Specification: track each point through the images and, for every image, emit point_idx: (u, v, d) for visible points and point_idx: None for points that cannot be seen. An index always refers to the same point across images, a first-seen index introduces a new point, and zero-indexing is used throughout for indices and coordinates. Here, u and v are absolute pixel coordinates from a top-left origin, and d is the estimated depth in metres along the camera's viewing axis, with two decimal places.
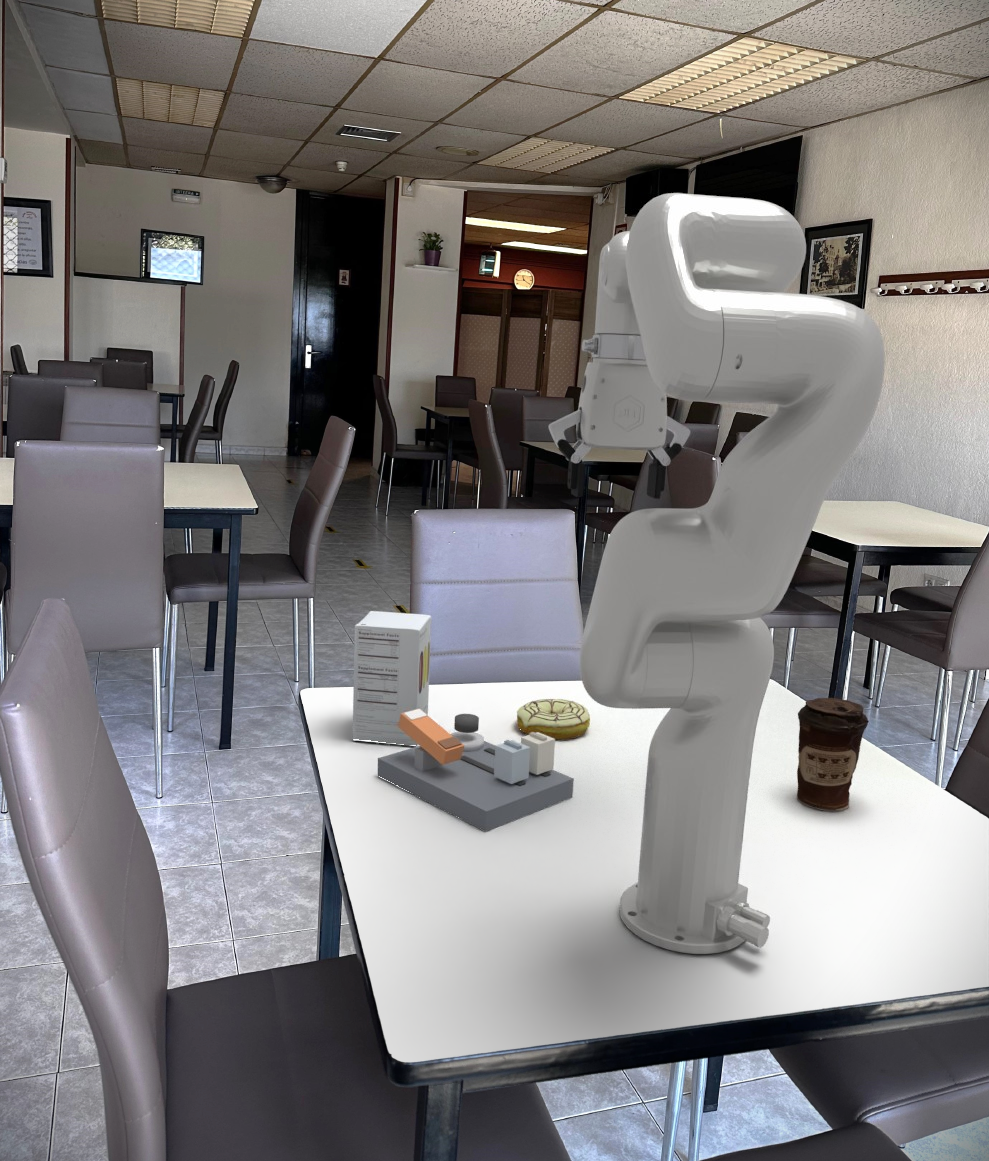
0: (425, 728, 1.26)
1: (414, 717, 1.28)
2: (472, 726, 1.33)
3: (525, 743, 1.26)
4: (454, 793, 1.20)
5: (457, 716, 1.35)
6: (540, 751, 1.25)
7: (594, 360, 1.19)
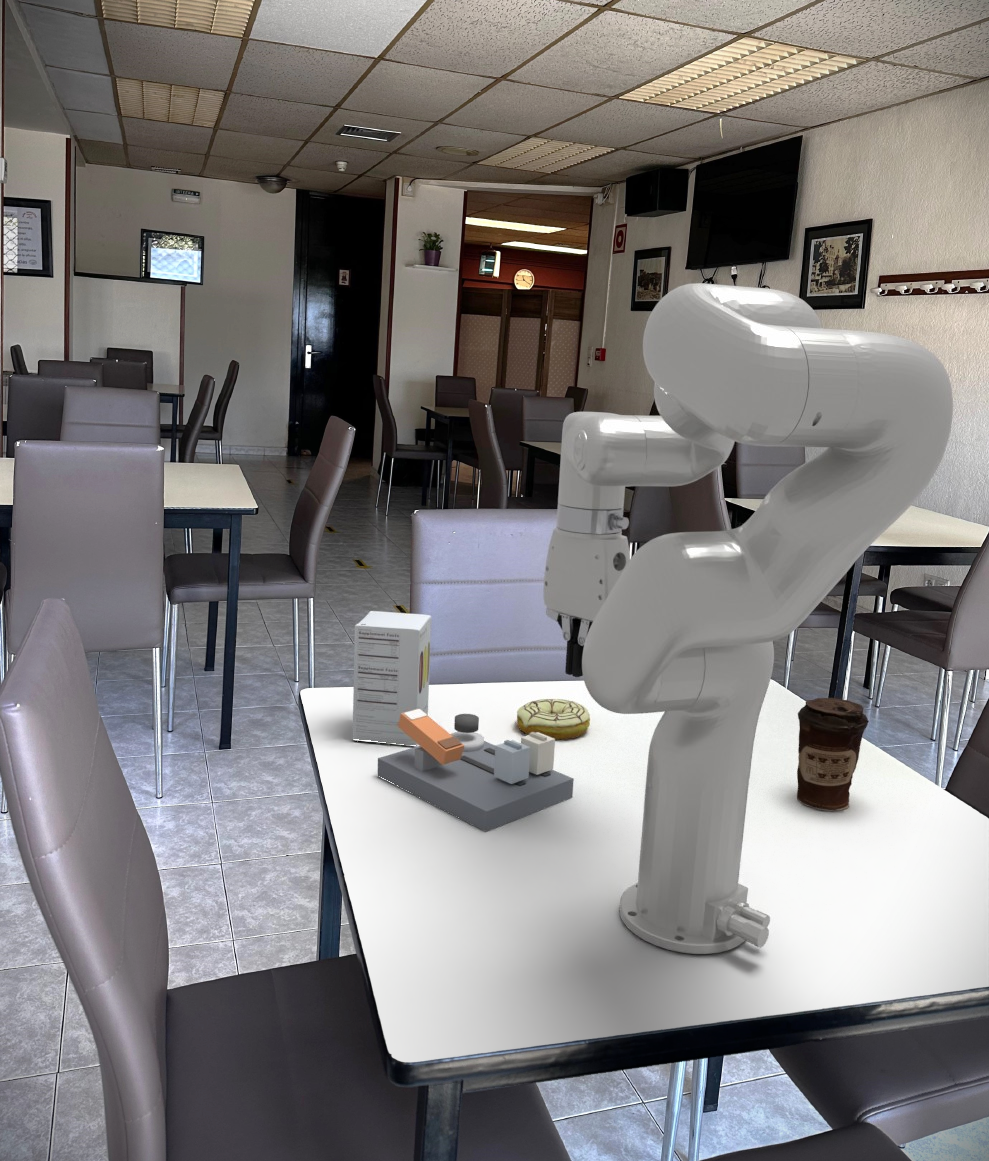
0: (425, 728, 1.26)
1: (414, 717, 1.28)
2: (472, 726, 1.33)
3: (525, 743, 1.26)
4: (454, 793, 1.20)
5: (457, 716, 1.35)
6: (540, 751, 1.25)
7: (614, 536, 1.14)
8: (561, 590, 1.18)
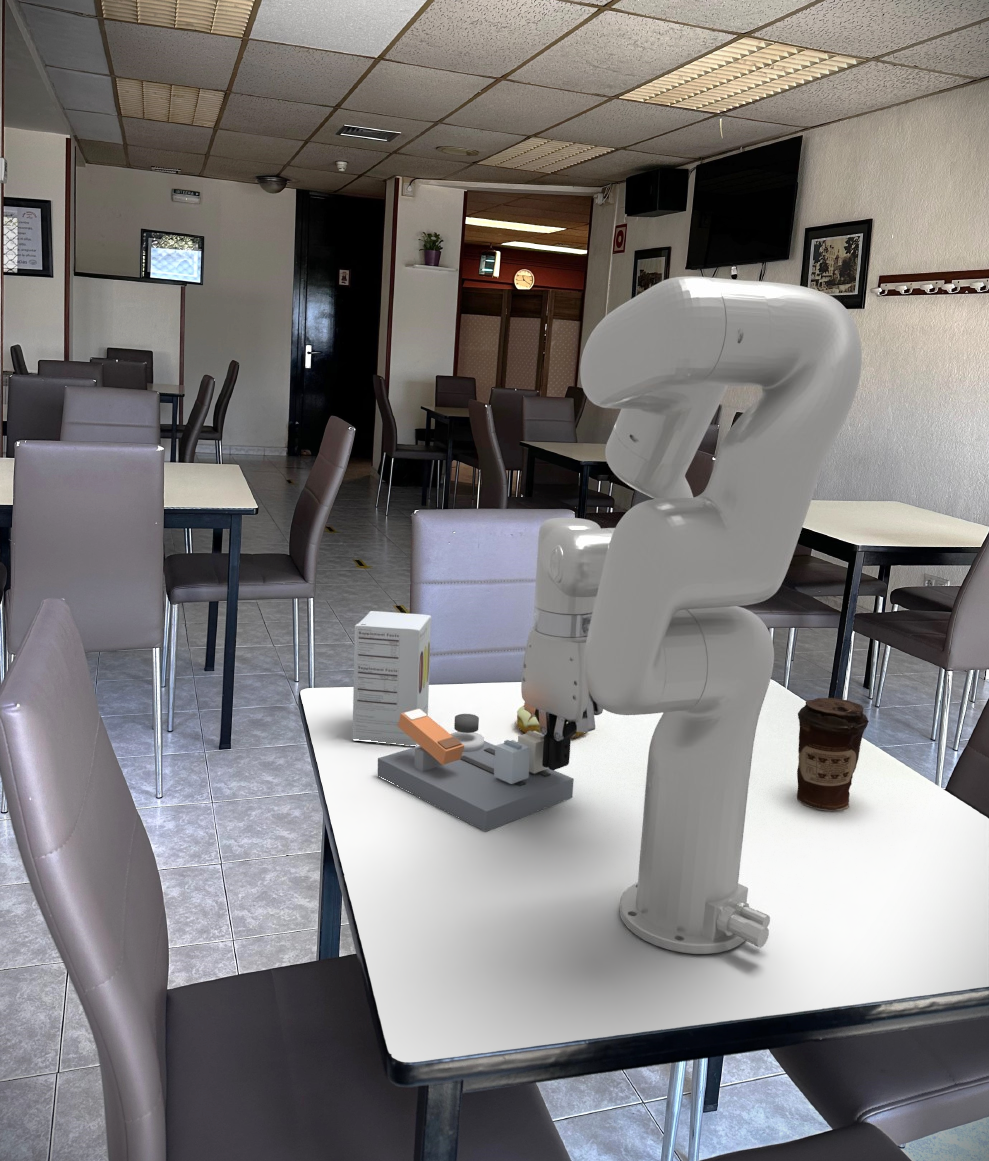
0: (425, 728, 1.26)
1: (414, 717, 1.28)
2: (472, 726, 1.33)
3: (522, 742, 1.27)
4: (454, 793, 1.20)
5: (457, 716, 1.35)
6: (537, 749, 1.25)
7: None
8: (538, 687, 1.22)
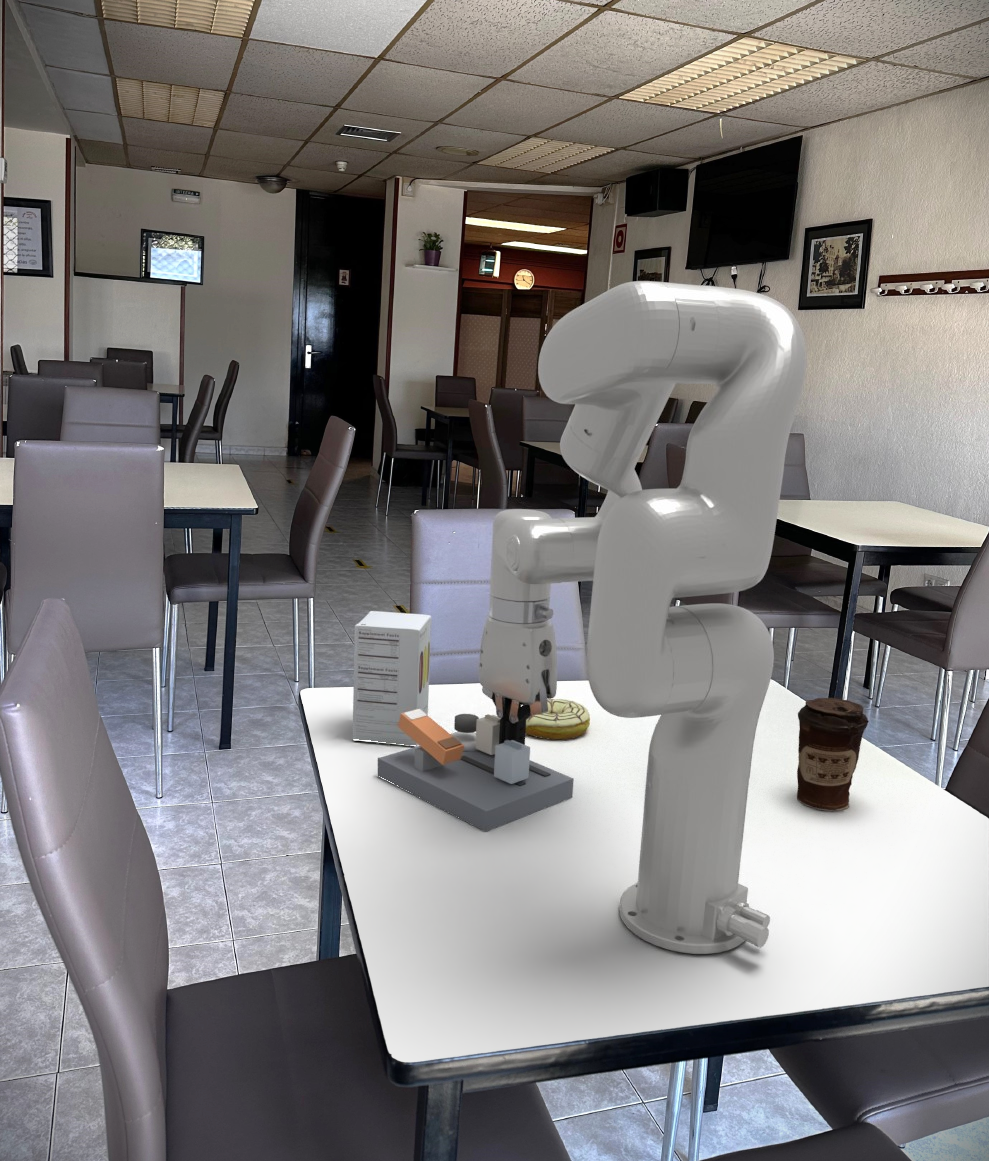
0: (425, 728, 1.26)
1: (414, 717, 1.28)
2: (472, 726, 1.33)
3: (480, 725, 1.32)
4: (454, 793, 1.20)
5: (457, 716, 1.35)
6: (494, 732, 1.31)
7: (540, 624, 1.24)
8: (494, 672, 1.28)
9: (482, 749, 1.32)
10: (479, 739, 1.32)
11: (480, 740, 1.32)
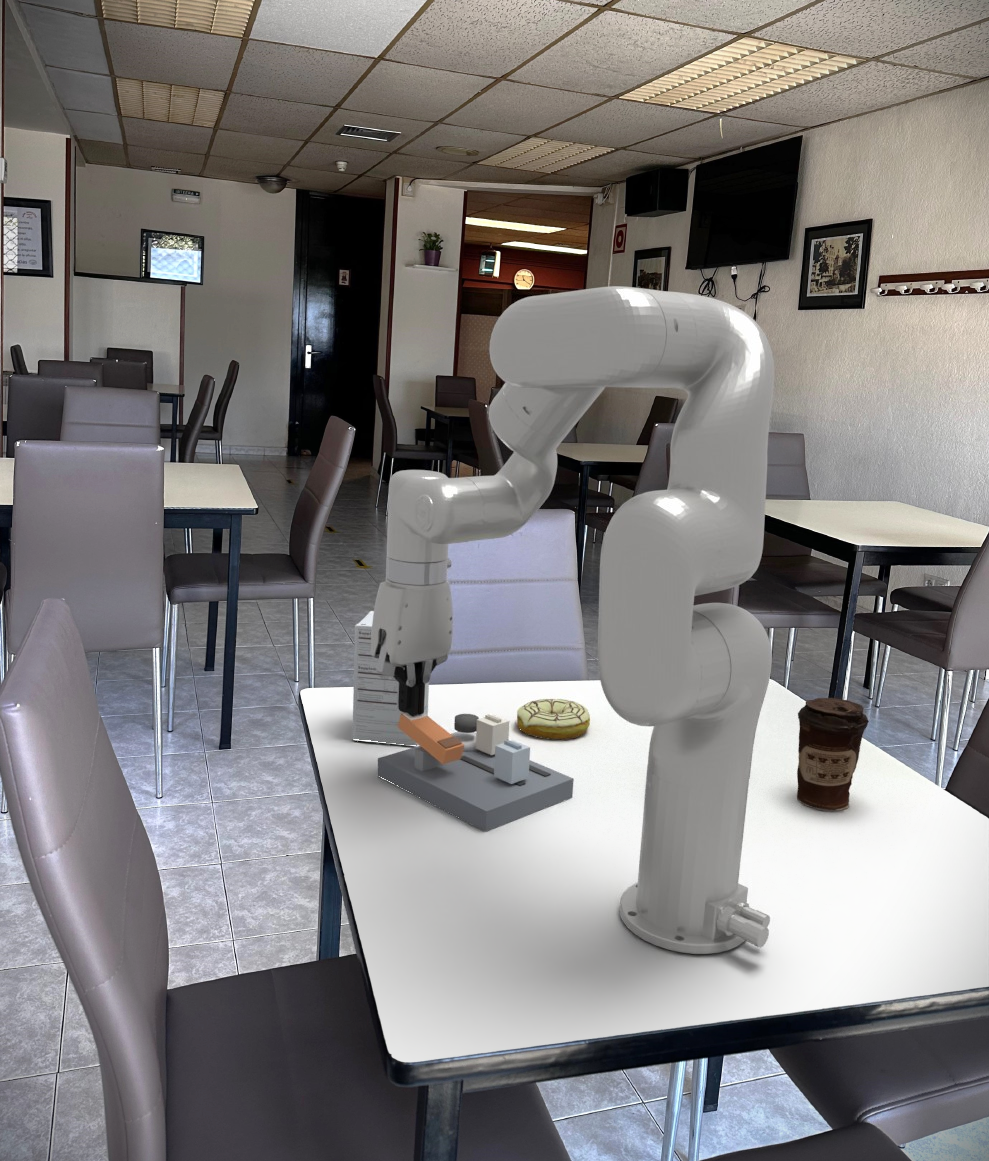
0: (425, 728, 1.26)
1: (414, 717, 1.28)
2: (472, 726, 1.33)
3: (480, 725, 1.32)
4: (454, 793, 1.20)
5: (457, 716, 1.35)
6: (494, 732, 1.31)
7: None
8: (416, 641, 1.24)
9: (482, 749, 1.32)
10: (479, 739, 1.32)
11: (480, 740, 1.32)
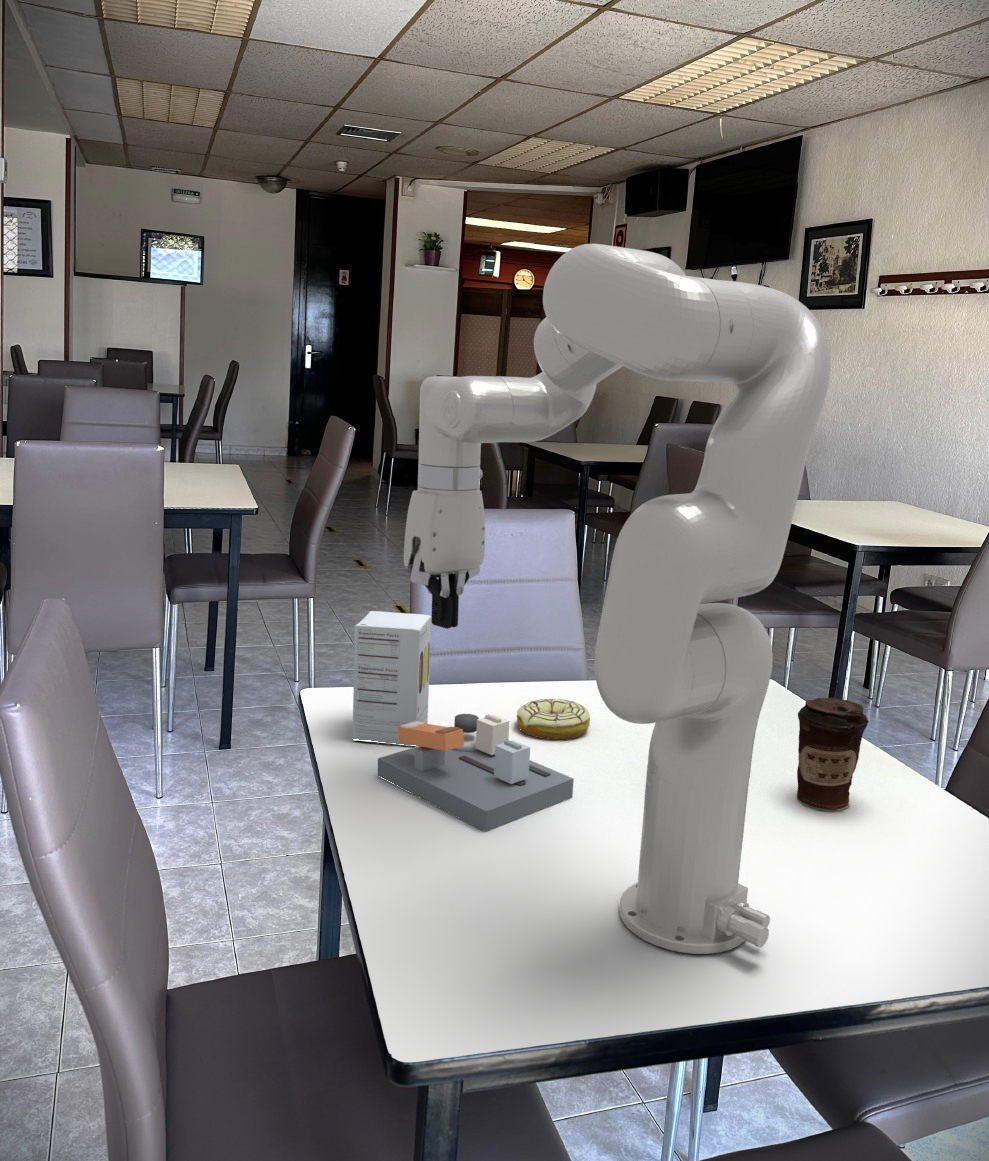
0: (423, 728, 1.27)
1: (411, 725, 1.28)
2: (472, 726, 1.33)
3: (480, 725, 1.32)
4: (454, 793, 1.20)
5: (457, 716, 1.35)
6: (494, 732, 1.31)
7: None
8: (450, 550, 1.23)
9: (482, 749, 1.32)
10: (479, 739, 1.32)
11: (480, 740, 1.32)
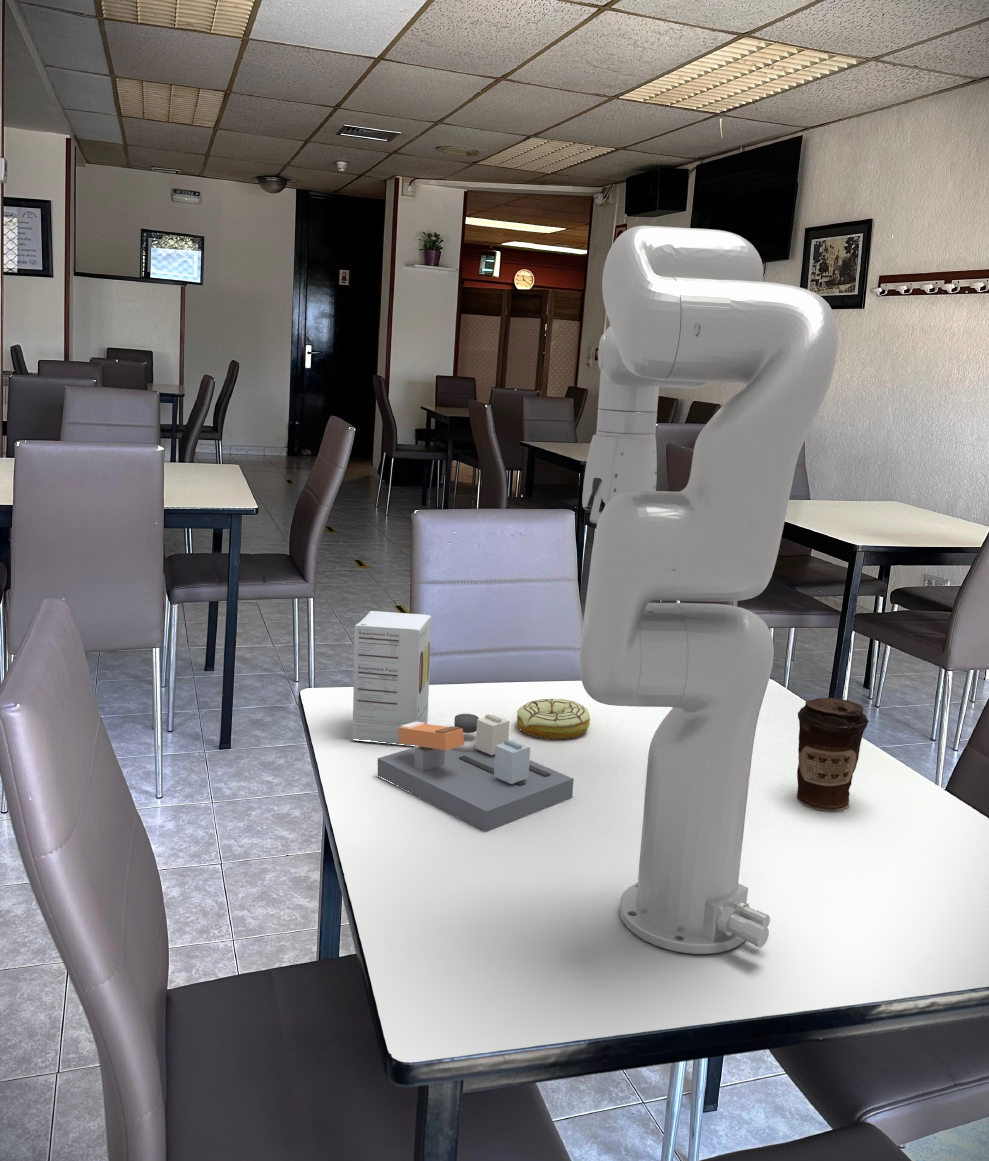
0: (423, 728, 1.27)
1: (411, 725, 1.28)
2: (472, 726, 1.33)
3: (480, 725, 1.32)
4: (454, 793, 1.20)
5: (457, 716, 1.35)
6: (494, 732, 1.31)
7: None
8: (628, 491, 1.29)
9: (482, 749, 1.32)
10: (479, 739, 1.32)
11: (480, 740, 1.32)
